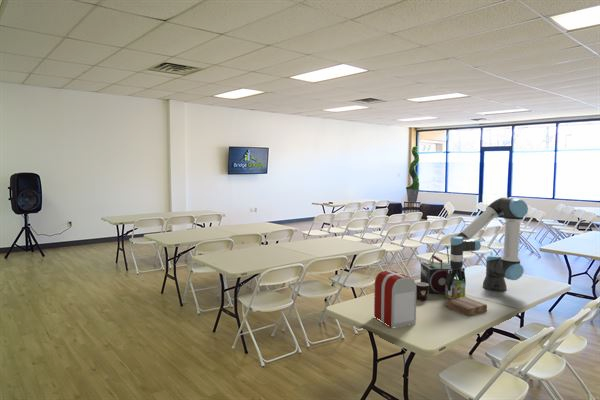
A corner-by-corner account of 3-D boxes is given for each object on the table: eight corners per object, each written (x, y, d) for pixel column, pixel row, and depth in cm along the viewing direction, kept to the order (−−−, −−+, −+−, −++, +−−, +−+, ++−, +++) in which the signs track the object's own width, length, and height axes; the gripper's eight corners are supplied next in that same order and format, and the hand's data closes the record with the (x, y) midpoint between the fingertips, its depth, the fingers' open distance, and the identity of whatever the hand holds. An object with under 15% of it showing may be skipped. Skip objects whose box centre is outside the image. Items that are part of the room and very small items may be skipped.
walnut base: (464, 302, 249) (464, 296, 249) (486, 311, 235) (486, 304, 235) (446, 307, 242) (446, 300, 242) (468, 315, 228) (468, 309, 227)
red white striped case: (391, 328, 210) (392, 279, 208) (373, 317, 227) (373, 271, 224) (416, 323, 217) (417, 276, 214) (396, 312, 233) (397, 268, 231)
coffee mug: (429, 298, 258) (429, 283, 257) (427, 302, 251) (427, 286, 250) (410, 295, 263) (411, 280, 262) (408, 299, 255) (409, 284, 255)
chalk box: (455, 301, 252) (456, 278, 251) (444, 297, 260) (445, 275, 259) (465, 298, 256) (466, 276, 255) (454, 294, 264) (454, 273, 263)
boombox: (418, 285, 284) (419, 245, 281) (446, 285, 285) (447, 244, 282) (427, 294, 266) (428, 250, 263) (457, 293, 267) (459, 250, 264)
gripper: (463, 257, 264) (462, 290, 266) (439, 261, 254) (438, 295, 256) (472, 259, 258) (471, 293, 260) (449, 263, 248) (447, 298, 250)
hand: (455, 294), depth 258 cm, fingers closed on chalk box, 9 cm apart
